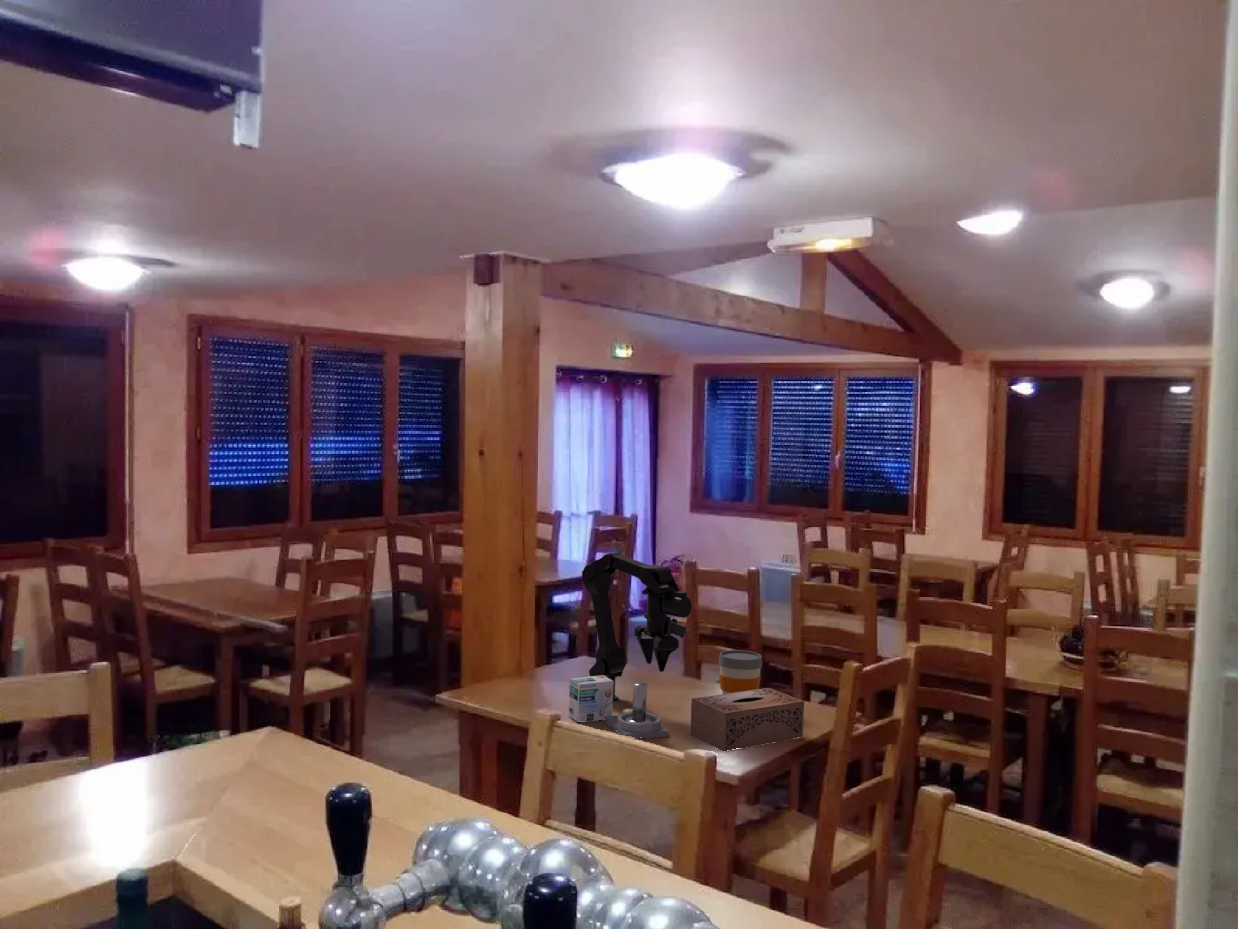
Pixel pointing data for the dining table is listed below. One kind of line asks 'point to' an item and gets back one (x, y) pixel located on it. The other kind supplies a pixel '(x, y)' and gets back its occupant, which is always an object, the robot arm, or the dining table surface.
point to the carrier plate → (634, 734)
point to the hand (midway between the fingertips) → (655, 667)
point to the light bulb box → (590, 698)
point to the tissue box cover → (746, 718)
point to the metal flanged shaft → (639, 704)
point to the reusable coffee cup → (739, 671)
